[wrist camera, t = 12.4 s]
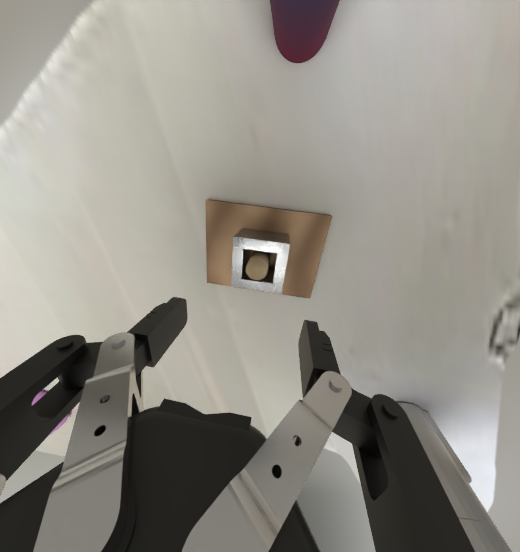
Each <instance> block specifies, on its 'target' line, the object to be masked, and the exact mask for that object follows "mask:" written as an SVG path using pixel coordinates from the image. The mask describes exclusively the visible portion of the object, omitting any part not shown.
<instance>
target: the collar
mask: <svg viewBox="0 0 520 552" xmlns="http://www.w3.org/2000/svg"><path fill="white" fill-rule="evenodd" d="M289 248H290V238H289V234H284V233H276V232H269V231H261V230H253V229H245V228H242V229H241V230H240V231H239V232H238V233H237V234H235V235H234V236H233V254H232V278H231V286H232V287H239V288H245V289H252V290H259V291H265V292H272V293H279V294H281V293H282V287H283V282H284V276H285V271H286V265H287V260H288V254H289ZM250 250H257V251H264V252H272V253H277V255H276V262H275V268H272V267H268V271H267V275H266V276H265V277H264V278H263V279H261V280H254V279H251V278H250V277H249V276H248V275H247V273H246V266H247V264H248V262H249V252H250Z"/></svg>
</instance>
